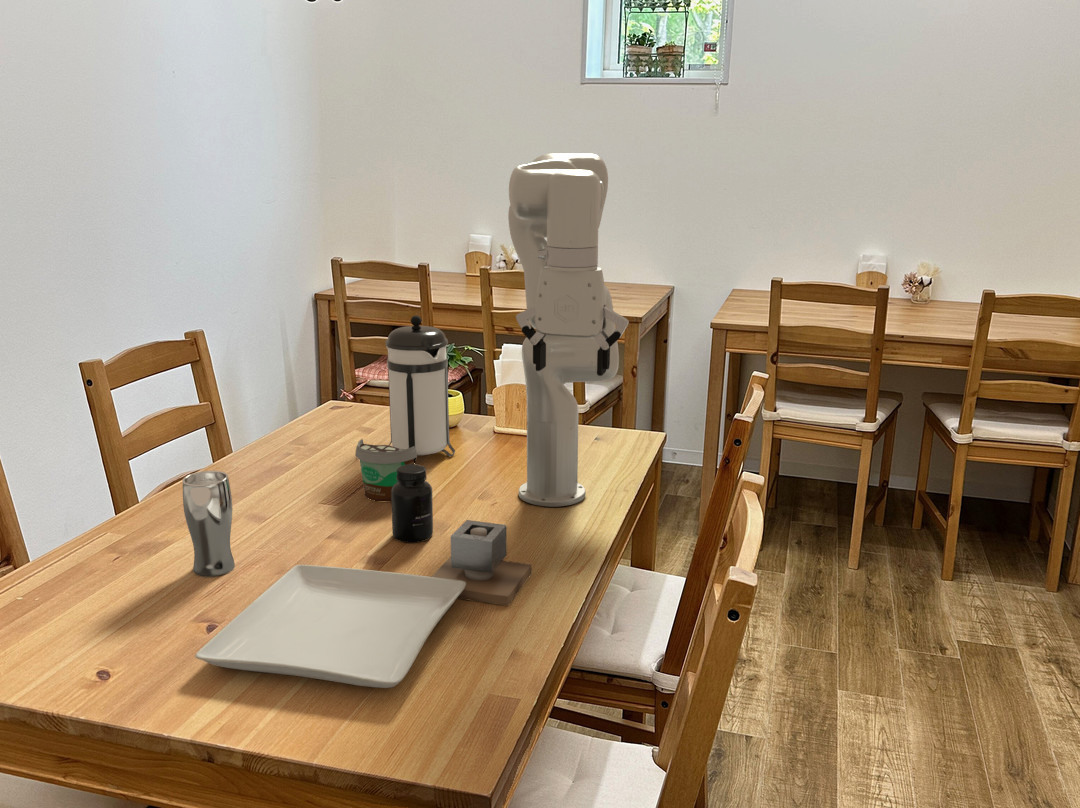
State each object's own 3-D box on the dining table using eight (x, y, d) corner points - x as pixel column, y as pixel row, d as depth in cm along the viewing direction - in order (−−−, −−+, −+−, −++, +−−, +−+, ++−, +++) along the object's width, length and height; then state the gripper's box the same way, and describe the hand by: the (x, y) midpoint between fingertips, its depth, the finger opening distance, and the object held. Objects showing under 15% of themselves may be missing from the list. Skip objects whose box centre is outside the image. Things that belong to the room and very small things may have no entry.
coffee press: (466, 444, 202) (463, 310, 194) (442, 468, 187) (438, 323, 179) (392, 438, 206) (386, 306, 198) (363, 461, 191) (356, 319, 183)
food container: (344, 498, 170) (341, 447, 168) (362, 487, 176) (359, 438, 173) (401, 508, 166) (399, 456, 163) (418, 497, 171) (417, 446, 169)
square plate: (469, 602, 133) (468, 577, 132) (399, 710, 107) (398, 681, 106) (298, 582, 138) (296, 558, 137) (193, 680, 113) (190, 652, 112)
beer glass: (247, 562, 144) (239, 473, 140) (218, 581, 138) (209, 488, 134) (210, 556, 146) (201, 467, 142) (180, 574, 140) (170, 482, 136)
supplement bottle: (426, 545, 150) (423, 477, 147) (386, 542, 152) (383, 474, 148) (438, 529, 157) (436, 463, 154) (400, 526, 158) (398, 460, 155)
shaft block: (453, 562, 144) (452, 512, 142) (531, 573, 141) (531, 522, 138) (424, 593, 134) (422, 539, 132) (508, 606, 130) (507, 551, 128)
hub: (467, 550, 140) (466, 519, 139) (506, 555, 139) (506, 524, 137) (451, 567, 135) (450, 536, 133) (492, 573, 133) (491, 541, 131)
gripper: (508, 259, 134) (509, 372, 138) (624, 263, 129) (621, 381, 133) (524, 253, 141) (524, 362, 145) (635, 258, 136) (631, 370, 140)
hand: (570, 371), depth 139 cm, fingers open, 9 cm apart
